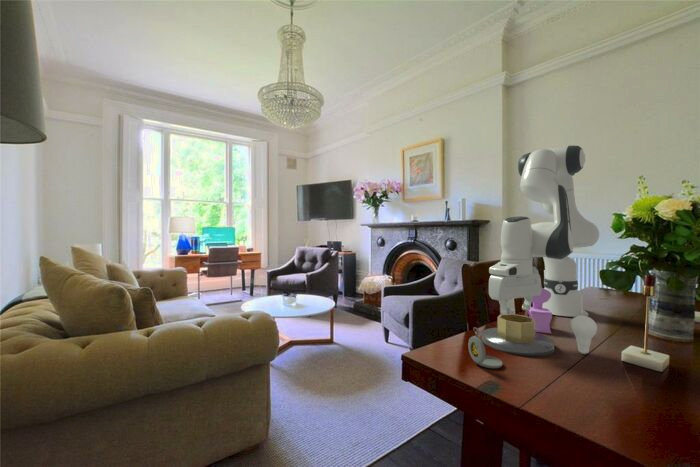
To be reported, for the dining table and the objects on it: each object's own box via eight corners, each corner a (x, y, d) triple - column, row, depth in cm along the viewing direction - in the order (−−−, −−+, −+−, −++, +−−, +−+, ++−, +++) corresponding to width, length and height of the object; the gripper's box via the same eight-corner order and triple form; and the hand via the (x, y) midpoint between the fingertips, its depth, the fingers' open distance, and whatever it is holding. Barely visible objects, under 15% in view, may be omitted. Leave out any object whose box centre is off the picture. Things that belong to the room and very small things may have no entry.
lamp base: (488, 329, 110) (488, 307, 110) (555, 340, 99) (555, 316, 99) (475, 346, 94) (475, 320, 94) (553, 362, 82) (553, 332, 82)
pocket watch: (506, 364, 81) (506, 326, 81) (494, 374, 75) (494, 334, 75) (475, 355, 87) (475, 320, 87) (462, 364, 81) (462, 326, 81)
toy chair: (528, 332, 108) (528, 289, 108) (523, 325, 116) (523, 285, 116) (555, 335, 105) (555, 291, 105) (549, 327, 113) (549, 287, 113)
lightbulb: (601, 359, 85) (601, 319, 85) (575, 356, 86) (576, 317, 86) (590, 350, 90) (590, 313, 90) (566, 348, 92) (567, 312, 92)
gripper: (528, 265, 104) (528, 306, 104) (484, 268, 95) (485, 312, 95) (547, 267, 98) (547, 310, 98) (502, 270, 89) (502, 318, 89)
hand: (516, 311), depth 96 cm, fingers open, 8 cm apart
